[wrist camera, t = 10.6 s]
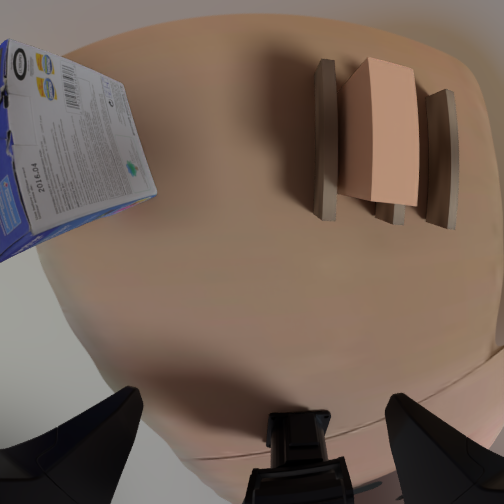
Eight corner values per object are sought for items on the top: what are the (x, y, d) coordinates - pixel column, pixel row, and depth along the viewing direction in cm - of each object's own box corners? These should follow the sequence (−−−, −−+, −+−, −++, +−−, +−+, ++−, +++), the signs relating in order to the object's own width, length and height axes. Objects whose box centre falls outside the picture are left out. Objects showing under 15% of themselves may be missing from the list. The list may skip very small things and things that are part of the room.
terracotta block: (367, 195, 17) (416, 206, 11) (333, 192, 18) (370, 200, 11) (367, 101, 16) (413, 69, 9) (334, 96, 16) (367, 56, 9)
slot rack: (433, 222, 17) (455, 229, 15) (313, 214, 18) (322, 220, 15) (433, 100, 15) (453, 91, 12) (313, 75, 15) (321, 58, 13)
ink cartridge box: (72, 115, 16) (-72, 101, 3) (124, 80, 16) (-20, 17, 2) (103, 221, 19) (-49, 295, 5) (160, 194, 18) (-13, 254, 4)
